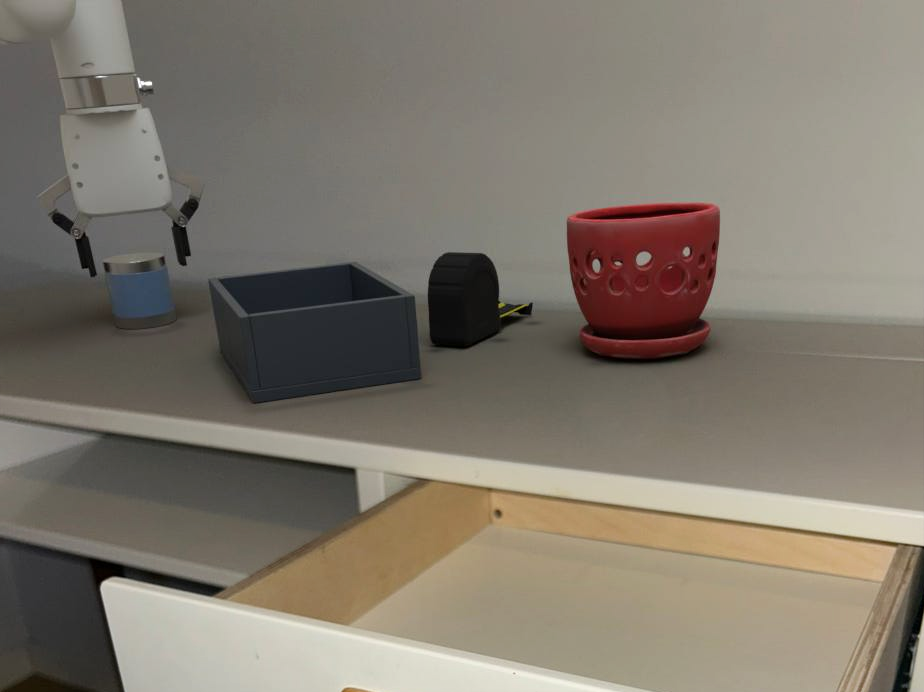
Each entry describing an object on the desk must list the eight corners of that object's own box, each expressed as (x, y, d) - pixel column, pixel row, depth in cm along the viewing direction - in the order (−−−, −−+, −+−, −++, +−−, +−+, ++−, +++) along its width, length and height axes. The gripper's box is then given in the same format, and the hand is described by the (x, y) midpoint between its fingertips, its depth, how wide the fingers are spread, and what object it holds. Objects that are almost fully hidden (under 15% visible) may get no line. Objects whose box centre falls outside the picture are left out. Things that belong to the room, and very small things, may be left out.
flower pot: (730, 335, 100) (738, 197, 94) (690, 371, 89) (695, 218, 84) (599, 329, 105) (598, 198, 99) (546, 362, 95) (542, 218, 89)
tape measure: (466, 349, 101) (460, 260, 97) (426, 346, 102) (419, 259, 99) (533, 316, 112) (530, 235, 108) (496, 314, 114) (492, 235, 110)
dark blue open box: (253, 403, 88) (239, 317, 85) (220, 351, 106) (207, 278, 102) (421, 378, 92) (414, 295, 89) (363, 332, 109) (355, 261, 106)
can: (117, 331, 117) (103, 265, 113) (114, 320, 122) (100, 256, 119) (179, 324, 119) (167, 258, 115) (173, 313, 124) (162, 250, 121)
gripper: (183, 89, 115) (213, 255, 123) (14, 102, 110) (56, 274, 119) (191, 90, 109) (221, 265, 117) (12, 104, 104) (57, 285, 113)
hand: (138, 269), depth 118 cm, fingers open, 9 cm apart
